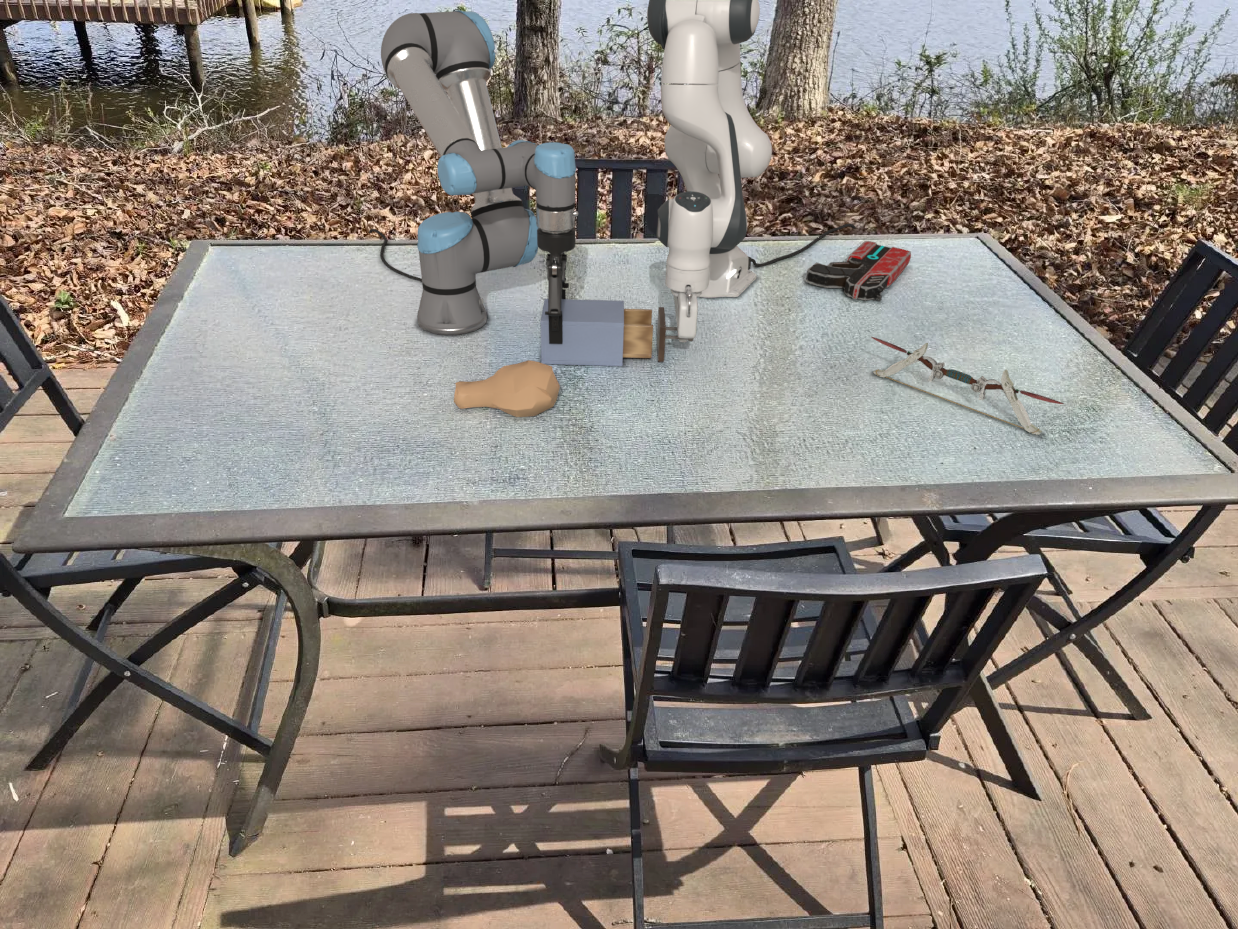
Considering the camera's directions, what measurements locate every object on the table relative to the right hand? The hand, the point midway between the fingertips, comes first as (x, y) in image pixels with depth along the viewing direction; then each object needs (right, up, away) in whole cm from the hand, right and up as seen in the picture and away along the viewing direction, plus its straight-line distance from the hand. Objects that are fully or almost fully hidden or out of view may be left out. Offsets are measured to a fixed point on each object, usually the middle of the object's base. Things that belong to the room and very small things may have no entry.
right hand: (682, 339), depth 184 cm
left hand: (-26, +2, -1) cm, 26 cm away
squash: (-34, -16, -19) cm, 42 cm away
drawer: (-9, -2, +1) cm, 9 cm away
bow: (+52, -14, -13) cm, 55 cm away
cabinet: (-21, -3, +2) cm, 21 cm away
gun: (+49, +22, +42) cm, 68 cm away
